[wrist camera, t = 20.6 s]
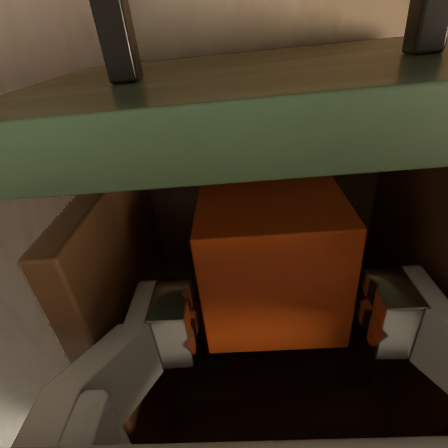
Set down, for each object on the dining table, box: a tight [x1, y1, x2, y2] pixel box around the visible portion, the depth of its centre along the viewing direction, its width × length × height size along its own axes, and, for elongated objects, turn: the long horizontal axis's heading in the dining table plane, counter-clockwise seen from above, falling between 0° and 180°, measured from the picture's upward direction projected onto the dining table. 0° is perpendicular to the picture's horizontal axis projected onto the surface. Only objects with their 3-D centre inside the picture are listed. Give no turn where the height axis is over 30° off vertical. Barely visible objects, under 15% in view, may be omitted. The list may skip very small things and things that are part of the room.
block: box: [190, 176, 367, 353], centre depth 11 cm, size 4×4×4 cm
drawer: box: [0, 0, 448, 444], centre depth 10 cm, size 19×11×8 cm, turn 5°
